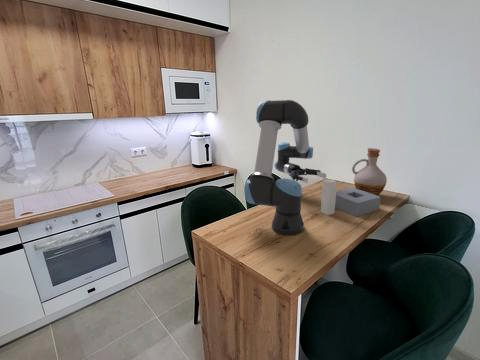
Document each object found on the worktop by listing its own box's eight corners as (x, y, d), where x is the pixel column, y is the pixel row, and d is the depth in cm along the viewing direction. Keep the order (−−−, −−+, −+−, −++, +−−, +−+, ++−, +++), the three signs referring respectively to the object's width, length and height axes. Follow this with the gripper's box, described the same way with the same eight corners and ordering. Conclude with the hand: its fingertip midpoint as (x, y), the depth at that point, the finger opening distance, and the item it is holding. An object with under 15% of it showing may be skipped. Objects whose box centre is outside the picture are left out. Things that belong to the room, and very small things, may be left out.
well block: (356, 216, 130) (357, 203, 128) (329, 205, 145) (330, 192, 143) (378, 209, 138) (380, 196, 135) (351, 199, 153) (352, 187, 151)
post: (327, 215, 132) (330, 182, 127) (320, 211, 137) (322, 180, 131) (334, 213, 135) (337, 181, 129) (327, 210, 139) (329, 179, 134)
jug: (349, 199, 153) (354, 150, 144) (349, 190, 169) (354, 145, 160) (385, 203, 146) (393, 152, 137) (382, 193, 161) (389, 147, 153)
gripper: (307, 172, 164) (332, 180, 146) (276, 178, 153) (298, 188, 135) (308, 161, 162) (333, 168, 144) (276, 166, 151) (299, 175, 133)
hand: (316, 178), depth 139 cm, fingers open, 13 cm apart
